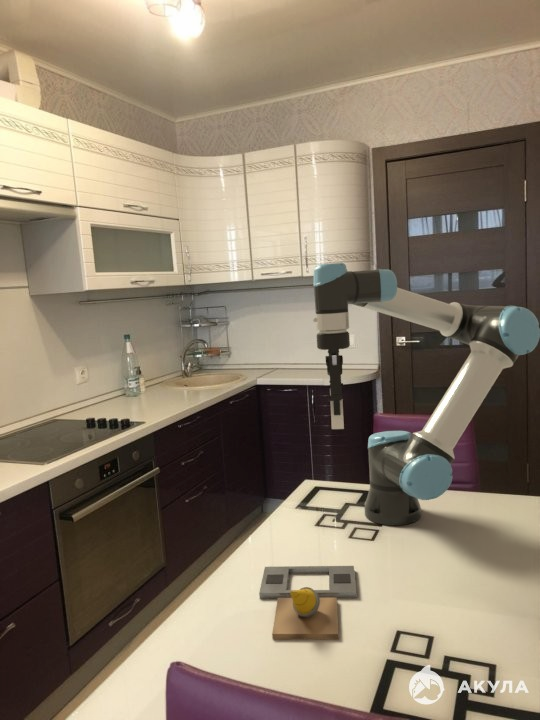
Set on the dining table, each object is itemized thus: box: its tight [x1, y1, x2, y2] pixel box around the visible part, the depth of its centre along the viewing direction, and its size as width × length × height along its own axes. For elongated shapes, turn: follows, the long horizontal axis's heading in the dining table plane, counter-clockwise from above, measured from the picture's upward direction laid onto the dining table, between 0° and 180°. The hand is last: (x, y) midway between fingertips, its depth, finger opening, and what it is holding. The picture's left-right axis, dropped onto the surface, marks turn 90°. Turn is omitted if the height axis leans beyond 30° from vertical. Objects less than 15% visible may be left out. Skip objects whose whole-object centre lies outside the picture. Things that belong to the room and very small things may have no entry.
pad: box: [271, 598, 339, 640], centre depth 108 cm, size 12×12×1 cm
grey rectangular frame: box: [258, 565, 357, 599], centre depth 121 cm, size 20×11×1 cm, turn 84°
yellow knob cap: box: [290, 586, 320, 617], centre depth 107 cm, size 5×5×10 cm
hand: (337, 421), depth 132 cm, fingers open, 13 cm apart
